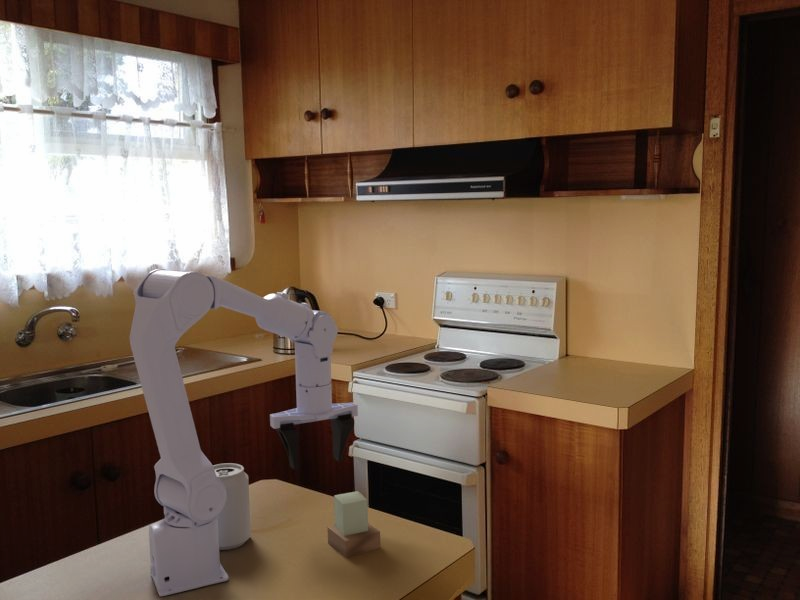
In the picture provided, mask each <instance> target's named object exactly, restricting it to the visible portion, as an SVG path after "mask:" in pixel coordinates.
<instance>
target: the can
mask: <svg viewBox="0 0 800 600" xmlns="http://www.w3.org/2000/svg"><path fill="white" fill-rule="evenodd" d="M212 465H213V464H212ZM213 467H214V470H215V473H216V476H217V477H218V479H219V480H220V481H221V482H222V483H223V484H224V486H225V488H226V494H227V497H226V503H225V506H224V508H223V510H222V511H221V513H220V514H219V519H218V536H219V551H225V550H232V549H237V548H239V547H242V545H244V544H245V543H246V541H248V540H249V538H251V536H252V534H251V533H252V529H251V528H252V527H251V526H252V525H251V509H250V508H251V507H250V506H251V505H250V504H251V503H250V485H249V475H248V474H247V473H246V472H245V471H244V470H245V467H244V466H243V465H241V464H239V463H232V462H229V463H228V462H227V463H218V464H214V465H213Z"/></svg>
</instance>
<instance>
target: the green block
mask: <svg viewBox="0 0 800 600" xmlns="http://www.w3.org/2000/svg"><path fill="white" fill-rule="evenodd" d="M333 500H334V501H333V502H334V503H333V505H334V506H333V508H334V525H335V527H336V528H337V529H338V530H339V531H340V532H341V533H342V535H343V536H346V535H351V534H356V533H360V532H365V531H368V523H369V516H368V514H369V513H368V511H369V510H368V498H366V497H365V496H364V495H363V494H362V493H361V492H360V491H358V490H356V491H352V492H345V493H339V494H335V495H333Z"/></svg>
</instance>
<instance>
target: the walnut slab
mask: <svg viewBox="0 0 800 600" xmlns="http://www.w3.org/2000/svg"><path fill="white" fill-rule="evenodd" d="M327 543H328V545H330V546H331V547H332V548H333V549H334V550H336V551H337V552H338V553H339V554H341V555H342V556H343V557H344V558H346V559H347V558H350V557H354V556H357V555H360V554H364V553H367V552H371V551H373V550H377V549H380V548H381V531H380V530H379V529H377V528H376V527H374V526H373V525H372V524H371V523H369V522H368V531H365V532H360V533H356V534H351V535H346V536H343V535H342V533H341V532H340V531H339V530H338V529H337V528H336V527H335V524H334V525H330V526H328V527H327Z"/></svg>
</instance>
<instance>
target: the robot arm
mask: <svg viewBox="0 0 800 600" xmlns="http://www.w3.org/2000/svg"><path fill="white" fill-rule="evenodd" d="M133 296H134V301H135V308H134V313H133V318H132V322H131V328H130V332H129V345H130V349H131V353H132V357H133V360H134V364H135V368H136V370H137V375H138V378H139V382H140V385H141V389H142V393H143V397H144V400H145V404H146V408H147V411H148V414H149V419H150V423H151V427H152V430H153V433H154V438H155V440H156V445H157V448H158V453H159V457H160V459H159V460H158V461H157V462H156V463H155V464H154V466H153V468H154V469H153V470H154V471H155V483H154V490H153V491H154V497H155V500H156V501H157V502H158V504H160V505H161V506H163V515H164V518H163V519H162V520H160V521H157V522H155V523H154V522H153V523H151V524H149V528H148V538H149V539H148V540H149V554H150V556H149V557H150V559H149V560H150V564H149V565H150V574H151V577H152V580H153V583H154V585H155V589H156V591H157V593H158V596H159V597H165V596H169V595H173V594H178V593H183V592H185V591H190V590H194V589H199V588H202V587H206V586H211V585H214V584H219V583H222V582H223V583H224V582H226V581H228V580H229V575H228V573H227V572H226V571H225V569H224V567H223V565H222V564H221V561H220V559H221V558H220V550H219V536H218V519H219V514H220V513H221V511H222V510H223V508H224V506H225V503H226V497H227V494H226V488H225V486H224V484H223V483H222V482H221V481H220V480H219V479H218V477H217V476H216V473H215V470H214V467H213V464H212V462H211V461H210V460H209V459H208V457H207V456H206V455H205V454H204V452H203V451H202V449H201V446H200V441H199V438H198V434H197V429H196V426H195V422H194V418H193V414H192V410H191V406H190V402H189V397H188V395H187V394H188V393H187V390H186V386H185V382H184V377H183V373H182V371H181V366H180V363H179V359H178V354H177V351H176V344H177V342H179V340H180V338H181V337H182V336H183V334H185V333H186V332H187V331H188V330H189V329H191V327H193V326H194V325H196V323H198V321H200V320H201V319H202V318H203V317H204V316H205V315H206V314H207V313H208V312H209V311H210V309H211V310H218V308H219V307H222V308H224V309H228V310H230V311H234V312H237V313H239V314H240V313H241V314H244V315H246V316H249V317H251V318H252V317H253V318H254V319H255V322H256V324H257V327H259V328H260V329H261V330H264V331H267V332H269V333H272V334H275V335H278V336H281V337H283V338H287V339H288V340H289V341H290V342H291V343H292V344H294V357H295V358H294V361H295V391H296V392H295V393H296V407H295V408H292V409H288V410H284V411H280V412H276V413H271V414H269V422H270V425H269V426H270V427H271V428H272V429H275V431H276V432H277V433H278V435H279V437H280V440H281V442H282V443H283V446H284V448H285V451H286V454H287V457H288V461H289V467H290V468H291V469H292V470H294V471H296V470H299V451H298V450H299V437H300V432H299V431H298V430H297V427H296V426H295V425H300V424H305V423H307V424H308V423H313V422H320V421H325V420H330V425H331V432H332V456H333V459H334V460H335V461H336V462H338V463H340V462H343V457H344V452H345V448H346V446H347V441H348V439H349V437H350V434H351V433H352V430H353V429H354V427H355V419H354V418H352V417H358V416H359V414H358V413H359V411H358V410H359V409H358V404H357V403H355V402H344V403H333V395H332V394H333V391H332V389H333V388H332V360H331V359H332V358H331V357H332V354H333V352H334V344H335V341H336V339H337V337H338V336H337V335H338V331H339V327H338V326H337V325H336V322H335V320H334V318H333V317H332V315H331V314H330V313H328V312H327V311H323V310H313V309H312V308H311V305H310V304H309V303H306V302H301V303H299V302H297V301H295V300H292V299H289V296H290V295H289V294H287V293H284V292H280V291H279V292H278V291H277V292H276V293H268V294H266V295H265V296H260V295H258V294H256V293H253V292H251V291H249V290H247V289H245V288H243V287H240V286H239V285H235V284H233V283H231V282H229V281H227V280H225V279H222V278H220V277H218V276H215V275H208V274H204V273H202V272H199V271H176V270H169V269H165V268H156V269H154V270H151V271H150V272H148V273H147V274H145V276H144V277H143V278H142V279H141V281H140V282H139V283H138V285H137V287H136V288H135V289H134V290H133Z"/></svg>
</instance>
